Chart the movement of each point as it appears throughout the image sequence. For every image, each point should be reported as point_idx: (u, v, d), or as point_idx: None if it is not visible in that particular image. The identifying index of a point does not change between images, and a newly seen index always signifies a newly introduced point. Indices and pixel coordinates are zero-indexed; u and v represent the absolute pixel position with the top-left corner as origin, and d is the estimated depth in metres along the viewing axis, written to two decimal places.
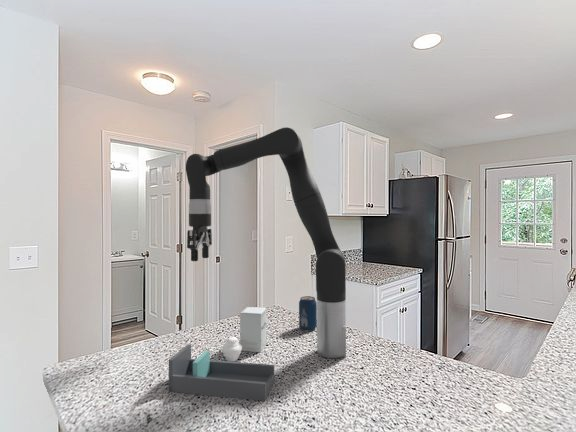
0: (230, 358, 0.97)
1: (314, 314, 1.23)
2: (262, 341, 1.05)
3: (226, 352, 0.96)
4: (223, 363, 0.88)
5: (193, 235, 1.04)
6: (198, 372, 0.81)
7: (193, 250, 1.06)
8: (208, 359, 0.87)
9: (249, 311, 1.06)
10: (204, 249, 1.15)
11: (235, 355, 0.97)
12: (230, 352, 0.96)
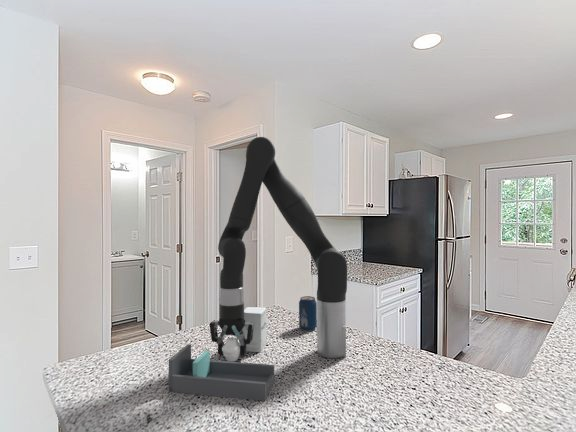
0: (230, 358, 0.97)
1: (314, 314, 1.23)
2: (262, 341, 1.05)
3: (226, 352, 0.96)
4: (223, 363, 0.88)
5: (253, 328, 0.99)
6: (198, 372, 0.81)
7: (245, 345, 0.98)
8: (208, 359, 0.87)
9: (249, 311, 1.07)
10: (222, 345, 0.99)
11: (235, 355, 0.97)
12: (230, 352, 0.96)
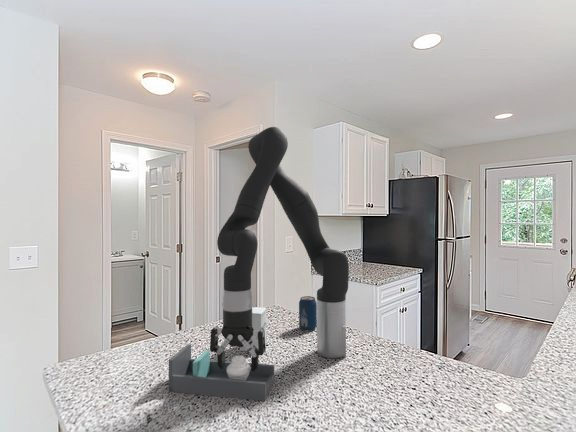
0: None
1: (314, 314, 1.23)
2: None
3: (232, 375, 0.80)
4: None
5: (264, 335, 0.83)
6: (198, 372, 0.81)
7: (258, 355, 0.82)
8: (208, 359, 0.87)
9: None
10: (223, 356, 0.83)
11: (242, 378, 0.81)
12: (236, 375, 0.80)
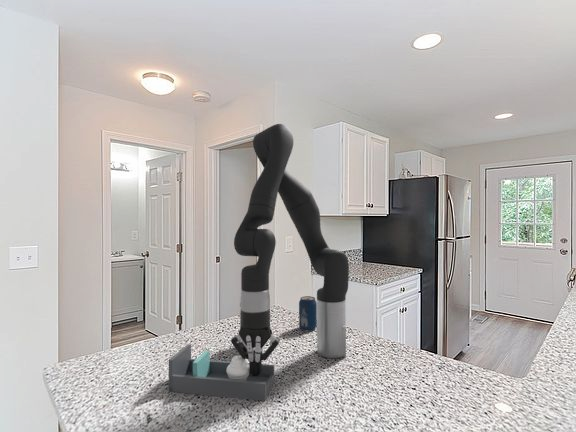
0: None
1: (314, 314, 1.23)
2: None
3: (232, 375, 0.80)
4: (223, 363, 0.88)
5: None
6: (198, 372, 0.81)
7: None
8: (208, 359, 0.87)
9: None
10: None
11: (242, 378, 0.81)
12: (236, 375, 0.80)
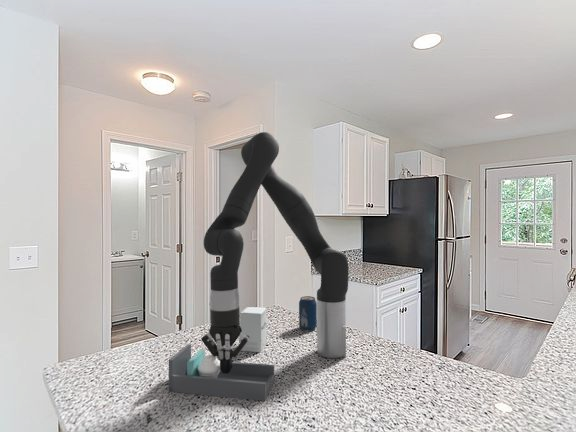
0: None
1: (314, 314, 1.23)
2: (262, 341, 1.05)
3: (202, 372, 0.82)
4: None
5: None
6: (192, 371, 0.82)
7: None
8: None
9: (249, 311, 1.07)
10: None
11: (213, 375, 0.82)
12: (207, 372, 0.81)
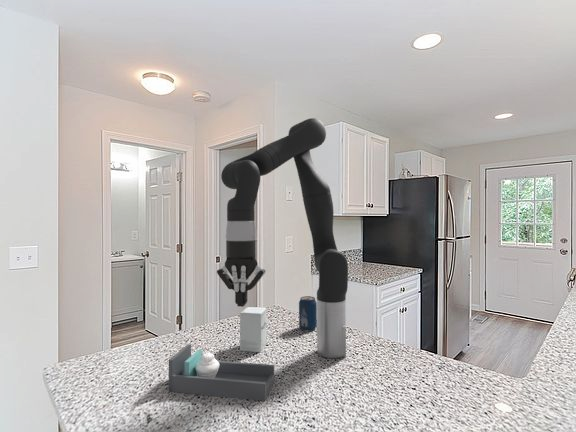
0: None
1: (314, 314, 1.23)
2: (262, 341, 1.05)
3: (200, 372, 0.82)
4: (223, 363, 0.88)
5: None
6: (190, 371, 0.82)
7: None
8: (200, 358, 0.88)
9: (249, 311, 1.07)
10: None
11: (211, 375, 0.82)
12: (204, 372, 0.82)
